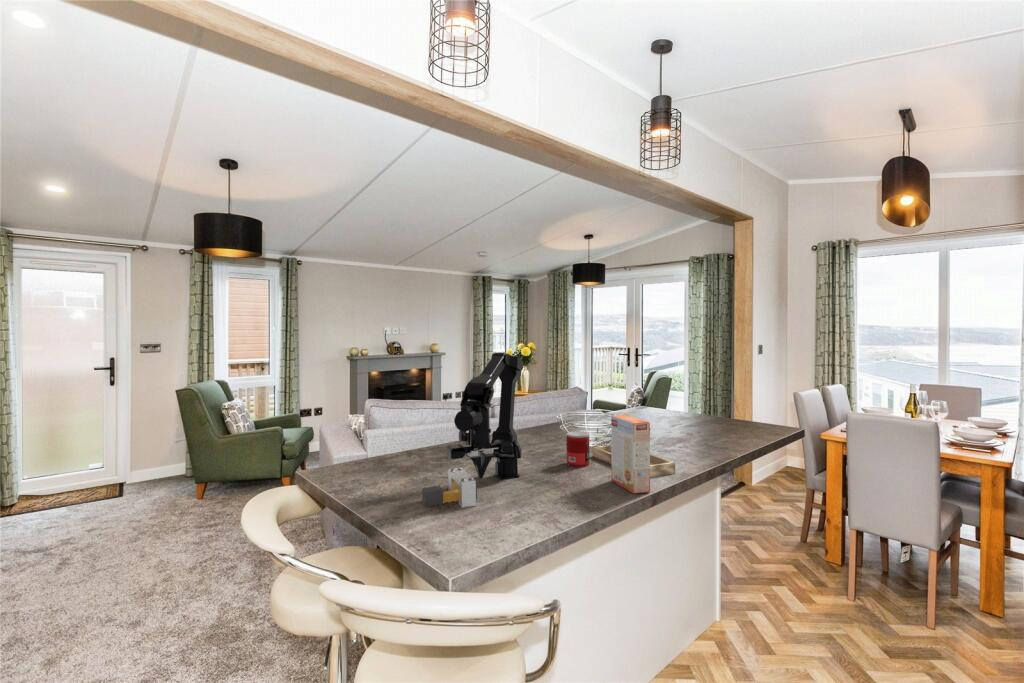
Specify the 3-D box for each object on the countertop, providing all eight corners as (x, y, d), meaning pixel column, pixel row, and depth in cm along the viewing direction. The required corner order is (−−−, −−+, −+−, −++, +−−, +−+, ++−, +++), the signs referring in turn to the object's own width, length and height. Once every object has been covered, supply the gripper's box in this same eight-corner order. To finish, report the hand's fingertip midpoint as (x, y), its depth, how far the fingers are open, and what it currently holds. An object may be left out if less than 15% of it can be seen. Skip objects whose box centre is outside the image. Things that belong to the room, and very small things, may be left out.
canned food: (591, 467, 169) (590, 435, 169) (568, 467, 169) (567, 436, 169) (587, 461, 176) (587, 431, 176) (565, 461, 177) (565, 431, 176)
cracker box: (651, 492, 142) (650, 421, 141) (632, 494, 140) (632, 422, 140) (628, 478, 155) (627, 413, 155) (610, 480, 154) (610, 414, 153)
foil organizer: (621, 452, 188) (621, 443, 188) (675, 473, 160) (675, 462, 160) (593, 456, 183) (592, 447, 183) (643, 478, 155) (642, 467, 155)
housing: (461, 490, 146) (461, 466, 146) (476, 505, 133) (475, 479, 133) (448, 492, 144) (448, 468, 144) (462, 508, 132) (461, 481, 131)
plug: (473, 494, 142) (473, 481, 142) (477, 499, 138) (477, 485, 138) (422, 502, 137) (422, 488, 137) (425, 506, 133) (425, 492, 133)
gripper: (499, 417, 151) (500, 467, 152) (441, 422, 144) (442, 474, 145) (513, 423, 141) (514, 477, 141) (451, 429, 134) (452, 485, 134)
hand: (480, 478), depth 141 cm, fingers closed
